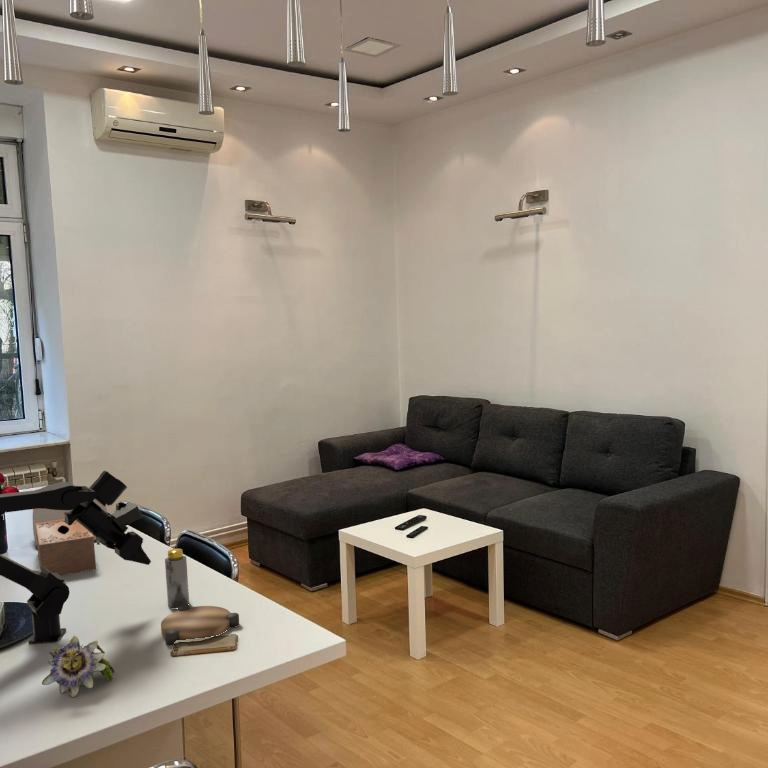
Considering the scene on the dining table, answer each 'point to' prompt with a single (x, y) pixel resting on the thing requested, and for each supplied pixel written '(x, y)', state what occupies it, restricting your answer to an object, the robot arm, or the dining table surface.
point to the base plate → (197, 622)
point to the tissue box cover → (65, 547)
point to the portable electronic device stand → (53, 516)
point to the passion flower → (77, 666)
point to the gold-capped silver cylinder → (176, 578)
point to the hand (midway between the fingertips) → (142, 558)
